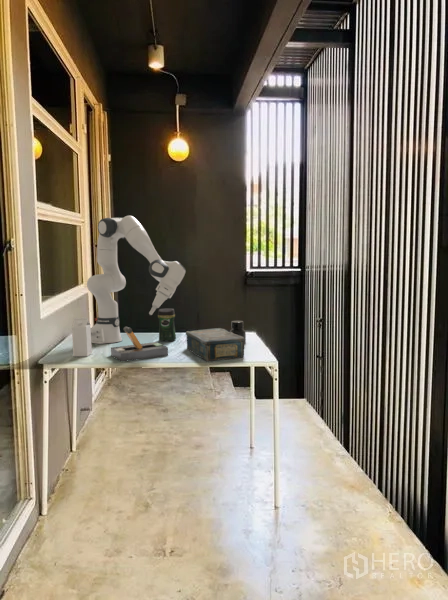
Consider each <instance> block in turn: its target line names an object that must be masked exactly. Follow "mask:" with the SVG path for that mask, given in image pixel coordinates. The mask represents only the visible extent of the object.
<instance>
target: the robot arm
mask: <svg viewBox="0 0 448 600" xmlns="http://www.w3.org/2000/svg"><path fill="white" fill-rule="evenodd" d="M97 224H98V225H97V231H98V233H99V234H98V238H97V244H96V245H97V246H96V251H97V252H96V261H97V264H98V266H99V267H101V268H102V271H103V273H101V274H94V275H92V276H90V277H89V278H88V279H87V283H86V287H87V289H88V291H89V292H90V293H91V294H93V296H94V298H95V300H96V303H97V312H98V313H97V314H98V317H97V318H96V317H95V319H94V321H96V323H95V324H94V325H92V326H91V344H98V345H102V344H103V345H104V344H112V343H113V344H114V343H118V342H121V341H123V339H122V336H121V330H120V317H119V304H118V301H116V300H115V299H114V298H113V296H112V294H111V293H117V292H119V291H122V290H124V289H125V287H126V285H127V281H126V277H125V276H124V275H123V274H122V272H121V271H120V268H119V263H118V241H119V240H120V239H122V240H126V242H128V244H129V245H130V246H131V247H132V248H133V249H134V250H136V251H137V252H138V253H139V254H141V255H142V256H144V258H146V260H147V261H148V263H149V266H148V272H149V274H150V275H151V276H152V277H153V278H154V279H155V280H156V281H158V282H159V283H158V284H157V286H156V288H155V291H156V292H155V294H156V295H155V297H154V300H153V302H152V303H151V304H152V307H151V309H150V311H149V312H148V314H149V316H152V315H153V314H154V312H155V311H156V310H157V309H160V307H161V305H163V303H164V302H165V301H166V300H168V299H171V298H172V297H173V295H174V294H175V292H176V289H177V287H178V286H179V285H181V282H182V281H183V279H184V277H185V274H186V272H187V271H186V268H185V267H184V265H182V264H181V262H179V261H177V260H174V261H166V260H163V259H162V257H161V256H160V255H159V253H158V251H157V250H156V249H155V246H154V244H153V242H152V240H151V238H150V236H149V234H148V232H147V231H146V229H145V227H144V226H143V225H142V224H141V223H140V221H139V220H138V219H137V218H136V217H134V216H133V215H126V216H124V217H103V218H102V219H100V220H99V221H98V223H97Z"/></svg>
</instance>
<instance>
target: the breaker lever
mask: <svg viewBox="0 0 448 600" xmlns="http://www.w3.org/2000/svg"><path fill="white" fill-rule="evenodd" d="M123 331H124V333H126V335H127V336H128V338H129V339H130V341H131V343H132V345H134V346H135V347H136V348H137V349H141V348H142V345H141V344H142V343H140V340H139V339H138V338H137V336H136V335H135V333H134V332H133V328H131V327H128V326H124V327H123Z"/></svg>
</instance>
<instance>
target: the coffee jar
mask: <svg viewBox="0 0 448 600" xmlns="http://www.w3.org/2000/svg"><path fill="white" fill-rule="evenodd" d="M157 312H158V313H157V318H158V322H159V325H158V326H159V329H158V341H160V342H172V341H176V339H177V337H176V336H177V335H176V334H177V333H176V327H175V318H176V313H175V308H158V311H157Z"/></svg>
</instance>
